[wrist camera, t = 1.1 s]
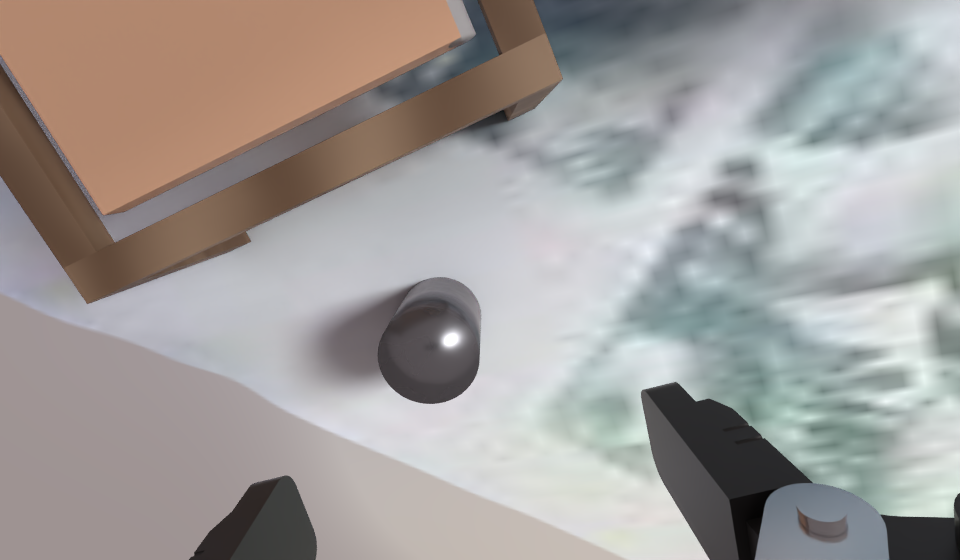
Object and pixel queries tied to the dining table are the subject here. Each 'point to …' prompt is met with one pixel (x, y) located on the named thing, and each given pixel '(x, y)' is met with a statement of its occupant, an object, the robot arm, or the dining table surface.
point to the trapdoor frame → (276, 190)
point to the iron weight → (432, 342)
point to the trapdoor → (203, 75)
